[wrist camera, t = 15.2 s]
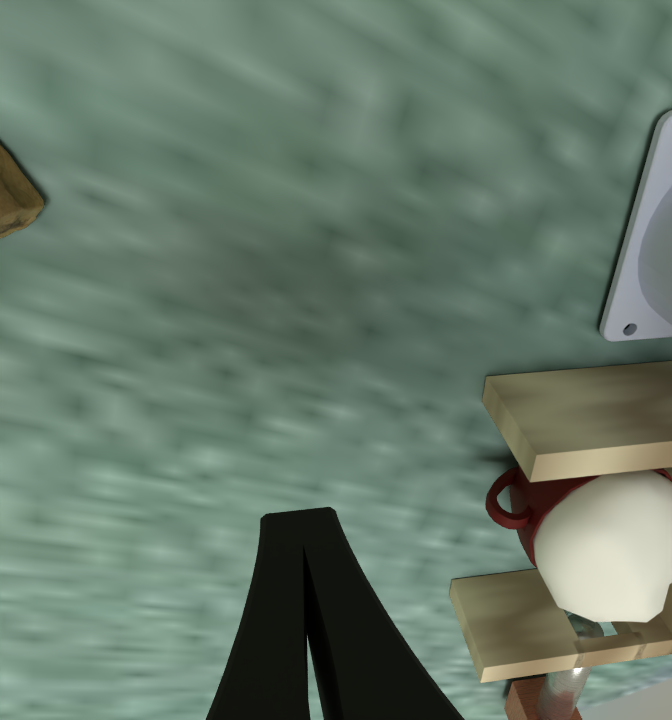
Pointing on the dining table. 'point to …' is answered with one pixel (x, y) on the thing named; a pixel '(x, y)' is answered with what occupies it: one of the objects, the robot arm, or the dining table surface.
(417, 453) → the dining table surface
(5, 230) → the rock
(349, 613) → the robot arm
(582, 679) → the lock pin
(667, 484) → the cocoa
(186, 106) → the dining table surface
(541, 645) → the dock
